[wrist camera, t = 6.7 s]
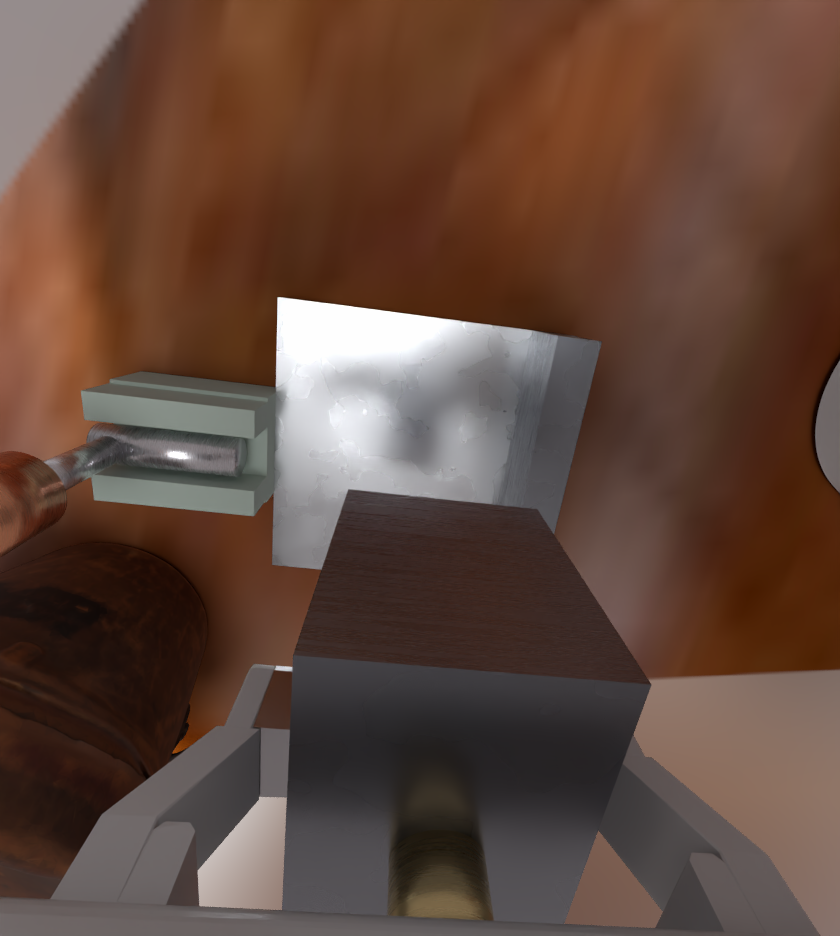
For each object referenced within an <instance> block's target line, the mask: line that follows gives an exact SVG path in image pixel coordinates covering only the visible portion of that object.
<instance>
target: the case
mask: <svg viewBox="0 0 840 936" xmlns="http://www.w3.org/2000/svg"><path fill="white" fill-rule="evenodd" d="M206 641H207V618H206V613H205V610H204V608H203V605H202V603H201V600H200V598H199V596H198V595H197V593H196V592H195V590H194V589H193V587H192V586H191V585H190V584H189V582H188V581H187V580H186V579H185V578H184V577H183V576H182V575H181V574H180V573H179V572H178V571H177V570H176V569H175V568H173V567H172V566H171V565H169V564H168V563H166V562H164V561H163V560H161V559H159V558H157V557H155V556H153V555H151V554H149V553H147V552H144V551H142V550H139V549H136V548H132V547H129V546H124V545H119V544H113V543H85V544H80V545H74V546H70V547H67V548H63V549H60V550H57V551H54V552H52V553H49V554H47V555H45V556H43V557H41V558H38V559H36V560H33V561H31V562H28V563H26V564H23V565H21V566H18V567H16V568H13V569H11V570H8V571H6V572H3V573H1V574H0V897H17V898H37V899H50V898H51V897H52V895H53V894H54V892H55V890H56V889H57V887H58V885H59V884H60V882H61V880H62V879H63V877H64V876H65V874H66V872H67V871H68V869H69V867H70V866H71V864H72V862H73V861H74V859H75V857H76V856H77V854H78V853H79V851H80V849H81V848H82V846H83V844H84V843H85V841H86V839H87V838H88V836H89V834H90V833H91V831H92V830H93V828H94V826H95V825H96V823H97V821H98V820H99V818H100V816H101V815H102V814H103V813H104V812H106V811H107V810H108V809H109V808H111V807H112V806H113V805H115V804H116V803H117V802H119V801H120V800H121V799H122V798H124V797H125V796H126V795H128V794H129V793H130V792H132V791H133V790H134V789H135V788H137V787H138V786H139V785H141V784H142V783H143V782H145V781H146V780H147V779H149V778H150V777H151V776H152V775H154V774H155V773H156V772H158V771H159V770H160V769H162V768H163V767H164V766H165V765H167V764H168V763H169V762H171V761H172V760H173V759H175V758H176V757H177V756H178V755H180V754H181V753H182V752H184V751H185V750H186V749H185V750H183V751H180V752H178V753H174V754H172V752H173V750H174V749H175V747H176V746H177V744H178V743H179V741H181V740H182V739H183V738H184V736H185V734H186V732H187V730H188V727H189V724H188V723H186V721H187V719H188V715H189V712H190V704H189V701H190V697H191V694H192V691H193V687H194V684H195V681H196V677H197V673H198V670H199V667H200V664H201V660H202V657H203V654H204V650H205V646H206ZM188 748H189V747H188ZM188 748H187V749H188Z"/></svg>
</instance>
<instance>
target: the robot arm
mask: <svg viewBox="0 0 840 936" xmlns="http://www.w3.org/2000/svg"><path fill="white" fill-rule="evenodd" d="M815 441H816V450H817V455H818V459H819V462H820V465H821V467H822V470H823V472H824V474H825V475H826V477H827V479H828V480H829V481H830V483H831V484H832V485H833V486H834V487H835V488H836V490H837V491H838V492H839V493H840V361H839V362H838V364H837V366H836V367H835V369H834V371H833V373H832V375H831V377H830V379H829V381H828V383H827V385H826V388H825V390H824V393H823V395H822V399H821V402H820V405H819V409H818V414H817V420H816V429H815ZM292 669H293V667H285V666H270V665H262V664H253V665H252V667H251V668H250V669H249V671H248V673H247V676H246V678H245V680H244V683H243V685H242V687H241V689H240V692H239V694H238V696H237V698H236V701H235V703H234V705H233V707H232V710H231V712H230V714H229V716H228V719H227V721H226V723H225V726H216V727H215V728H214V729H212V730H211V731H210V732H208V733H207V734H206V735H205V736H203V737H202V738H201V739H199V740H198V741H197V742H195V743H194V744H193V745H191V746H190V747H189V748H188V749H186V750H185V751H184V752H182V753H181V754H180V755H178V756H177V757H176V758H175V759H173V760H172V761H171V762H169V763H168V764H167V765H165V766H164V767H163V768H162V769H160V770H159V771H158V772H156V773H155V774H154V775H152V776H151V777H150V778H149V779H147V780H146V781H145V782H143V783H142V784H141V785H139V786H138V787H137V788H135V789H134V790H133V791H132V792H130V793H129V794H128V795H126V796H125V797H124V798H122V799H121V800H120V801H119V802H117V803H116V804H115V805H113V806H112V807H111V808H109V809H108V810H107V811H106V812H104V813H103V814H102V815H101V816H100V818H99V820H98V821H97V823H96V825H95V826H94V828H93V830H92V831H91V833H90V834H89V836H88V838H87V839H86V841H85V843H84V844H83V846H82V848H81V849H80V851H79V853H78V854H77V856H76V857H75V859H74V861H73V862H72V864H71V866H70V867H69V869H68V871H67V872H66V874H65V876H64V877H63V879H62V880H61V882H60V884H59V885H58V887H57V889H56V890H55V892H54V894H53V895H52V897H51V898H50V899H37V898H17V897H0V936H820V934H819V933H818V931H817V930H816V928H815V927H814V925H813V924H812V922H811V921H810V919H809V918H808V916H807V914H806V913H805V911H804V910H803V909H802V907H801V905H800V904H799V902H798V901H797V899H796V898H795V896H794V895H793V893H792V892H791V890H790V889H789V887H788V885H787V884H786V882H785V881H784V879H783V878H782V876H781V875H780V873H779V872H778V870H777V869H776V867H775V865H774V864H773V862H772V861H771V859H770V858H769V856H768V855H767V854H766V853H765V852H763V851H762V850H761V849H760V848H759V847H757V846H756V845H755V844H754V843H753V842H751V841H750V840H749V839H748V838H747V837H746V836H744V835H743V834H742V833H741V832H740V831H738V830H737V829H736V828H735V827H734V826H732V825H731V824H730V823H729V822H727V820H725V819H724V818H723V817H722V816H721V815H719V814H718V813H717V812H716V811H715V810H713V809H712V808H711V807H710V806H709V805H708V804H706V803H705V802H704V801H703V800H702V799H700V798H699V797H698V796H697V795H696V794H694V793H693V792H692V791H691V790H690V789H689V788H687V787H686V786H685V785H684V784H683V783H681V782H680V781H679V780H678V779H677V778H675V777H674V776H673V775H672V774H671V773H670V772H668V771H667V770H666V769H665V768H664V767H662V766H661V765H660V764H659V763H658V762H656V761H655V760H654V759H653V758H651V757H645V756H644V754H643V752H642V750H641V748H640V746H639V744H638V743H637V741H636V739H635V737H634V735H633V736H632V739H631V742H630V745H629V747H628V750H627V753H626V756H625V758H624V761H623V764H622V766H621V769H620V772H619V775H618V777H617V780H616V783H615V786H614V788H613V791H612V794H611V797H610V799H609V802H608V805H607V808H606V810H605V813H604V816H603V818H602V821H601V824H600V827H599V829H598V830H599V832H600V833H601V834H602V835H603V836H604V838H605V839H606V840H607V842H608V843H609V844H610V845H611V846H612V848H613V849H614V850H615V852H616V853H617V854H618V856H619V857H620V858H621V859H622V861H623V862H624V863H625V864H626V866H627V867H628V868H629V869H630V871H631V872H632V873H633V874H634V876H635V877H636V878H637V880H638V881H639V882H640V883H641V885H642V886H643V887H644V888H645V890H646V891H647V892H648V893H649V895H650V896H651V897H652V898H653V900H654V901H655V902H656V904H657V905H658V906H659V907H660V909H661V910H662V911H663V913H662V915H661V917H660V919H659V921H658V923H657V926H656V928H638V927H618V926H597V925H575V924H555V923H534V922H513V921H492V920H471V919H450V918H429V917H408V916H387V915H366V914H346V913H325V912H304V911H284V910H263V909H243V908H221V907H200V906H199V894H198V875H197V871H198V869H199V868H200V867H201V866H202V865H203V863H204V862H205V861H206V860H207V859H208V858H209V857H210V855H211V854H212V853H213V852H214V851H215V850H216V848H217V847H218V846H219V845H220V844H221V843H222V842H223V840H224V839H225V838H226V837H227V836H228V835H229V833H230V832H231V831H232V830H233V829H234V828H235V826H236V825H237V824H238V823H239V822H240V821H241V820H242V818H243V817H244V816H245V815H246V814H247V813H248V811H249V810H250V809H251V808H252V807H253V806H254V804H255V803H256V802H257V801H258V800H259V797H260V796H261V797H287V785H288V762H289V739H290V715H291V692H292Z"/></svg>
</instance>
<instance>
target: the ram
mask: <svg viewBox="0 0 840 936" xmlns="http://www.w3.org/2000/svg"><path fill="white" fill-rule="evenodd" d="M246 455H247V449H246V443H245V440H244V439H242V438H233V437H224V436H215V435H206V434H197V433H188V432H180V431H171V430H162V429H153V428H144V427H135V426H126V425H117V424H108V423H97V424H95V425H94V426H93V427H92V428H91V430H90V431H89V433H88V436H87V441H86V444H83V445H81V446H79V447H76V448H74V449H72V450H69V451H67V452H65V453H62V454H60V455H58V456H55V457H53V458H51V459H48V460H46V461H44V462H43V461H41V460H40V459H38V458H36V457H34V456H31V455H29V454H25V453H22V452H15V451H7V452H1V453H0V557H2V556H3V555H5V554H6V553H8V552H10V551H11V550H13V549H14V548H16V547H18V546H19V545H21V544H23V543H24V542H26V541H27V540H29V539H31V538H32V537H34V536H36V535H37V534H39V533H40V532H42V531H44V530H45V529H47V528H49V527H50V526H52V525H53V524H55V523H56V522H58V521H59V520H60V519H61V517H62V516H63V514H64V512H65V510H66V506H67V495H66V490H67V489H69V488H71V487H73V486H75V485H77V484H78V483H80V482H82V481H84V480H86V479H88V478H90V477H91V476H93V475H95V474H97V473H99V472H101V471H103V470H104V469H106V468H108V467H110V466H112V465H114V464H120V465H130V466H139V467H148V468H158V469H167V470H177V471H186V472H195V473H205V474H214V475H224V476H233V477H239V476H240V475H241V474H242V472H243V470H244V467H245V463H246Z"/></svg>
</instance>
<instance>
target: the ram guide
mask: <svg viewBox="0 0 840 936" xmlns="http://www.w3.org/2000/svg"><path fill="white" fill-rule="evenodd" d="M81 395H82V404H83V412H84V420H91V421H100V422H109V423H114V424H117V425H126V426H135V427H144V428H153V429H162V430H171V431H180V432H188V433H197V434H206V435H215V436H224V437H233V438H242V439H244V440H245V443H246V449H247V455H246V463H245V467H244V470H243V472H242V474H241V475H240V476H239V477H233V476H224V475H214V474H205V473H195V472H186V471H177V470H167V469H158V468H148V467H139V466H130V465H120V464H114V465H112V466H110V467H108V468H106V469H104V470H103V471H101V472H99V473H97V474H95V475H93V476H91V478H92V486H93V494H94V500H99V501H109V502H119V503H129V504H139V505H149V506H158V507H168V508H178V509H188V510H198V511H208V512H218V513H228V514H237V515H247V516H254V515H255V514H256V513H257V511H258V510H259V509H260V507H261V506H262V505H263V503H264V502H267V501H268V500H269V498H270V497H271V495H272V494H273V493H274V455H275V406H276V387H269V386H261V385H252V384H244V383H235V382H227V381H219V380H210V379H202V378H193V377H185V376H177V375H168V374H160V373H152V372H143V371H141V372H137V373H133V374H129V375H125V376H121V377H117V378H113V379H110V383H109V384H105V385H101V386H97V387H93V388H89V389H86V390H82V391H81Z"/></svg>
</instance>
